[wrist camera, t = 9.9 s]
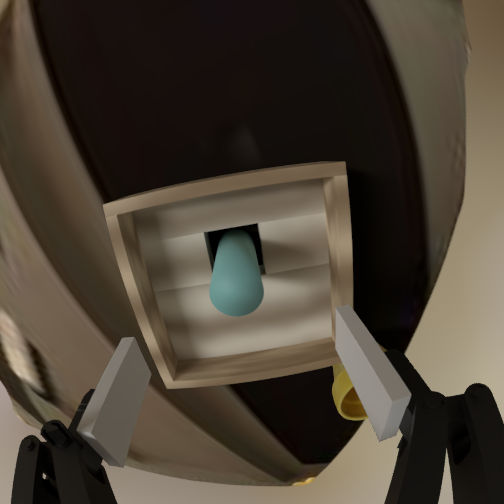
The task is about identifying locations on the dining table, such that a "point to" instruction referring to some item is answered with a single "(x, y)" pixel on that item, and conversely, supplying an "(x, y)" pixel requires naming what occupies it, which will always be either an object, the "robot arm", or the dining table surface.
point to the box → (272, 271)
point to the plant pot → (347, 394)
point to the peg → (236, 275)
